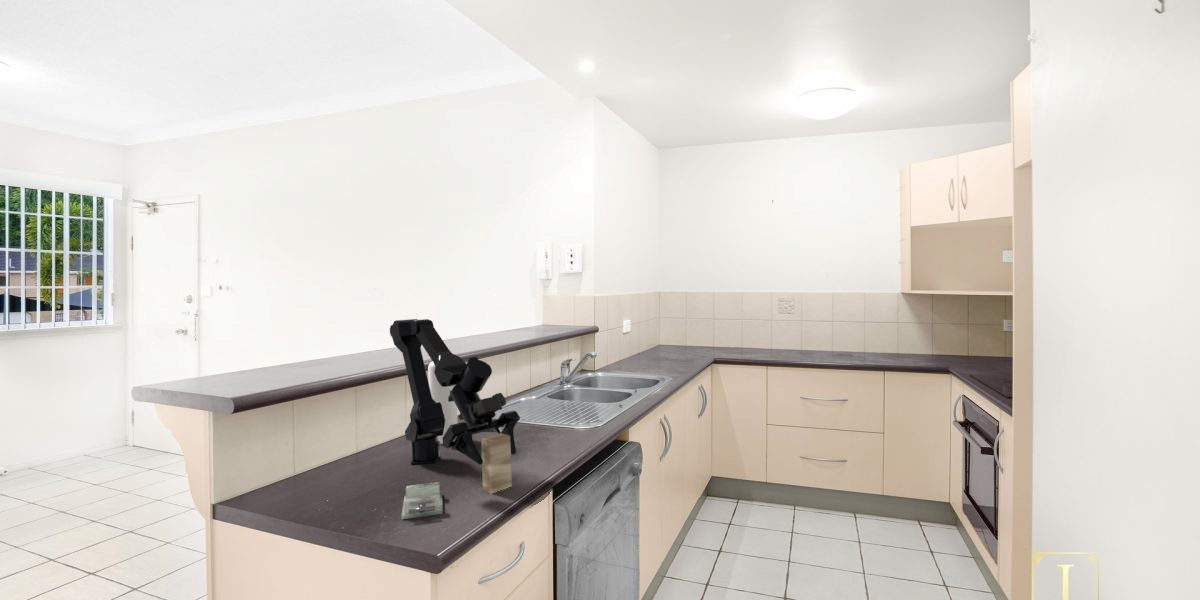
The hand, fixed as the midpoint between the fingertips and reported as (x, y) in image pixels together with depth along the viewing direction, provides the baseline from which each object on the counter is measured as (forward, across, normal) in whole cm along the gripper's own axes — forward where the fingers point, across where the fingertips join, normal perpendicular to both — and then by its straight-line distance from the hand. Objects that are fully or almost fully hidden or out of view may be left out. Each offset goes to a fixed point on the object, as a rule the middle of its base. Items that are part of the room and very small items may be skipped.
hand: (498, 458), depth 127 cm
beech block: (+4, 0, +6) cm, 7 cm away
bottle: (-28, +14, +38) cm, 49 cm away
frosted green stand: (+2, -16, +8) cm, 19 cm away
